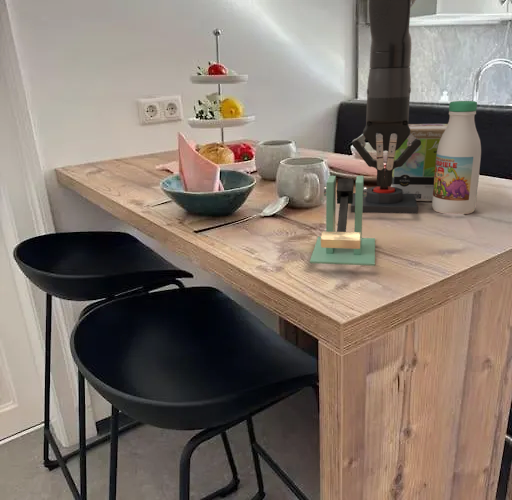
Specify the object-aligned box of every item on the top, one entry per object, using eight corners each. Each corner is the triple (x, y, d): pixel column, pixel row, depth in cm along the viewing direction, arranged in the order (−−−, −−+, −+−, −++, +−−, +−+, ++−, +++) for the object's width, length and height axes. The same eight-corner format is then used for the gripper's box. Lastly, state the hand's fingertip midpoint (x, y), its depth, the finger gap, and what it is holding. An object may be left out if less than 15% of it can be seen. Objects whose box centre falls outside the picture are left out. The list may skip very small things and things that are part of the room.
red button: (394, 195, 98) (394, 186, 97) (394, 200, 94) (395, 191, 94) (373, 194, 99) (373, 186, 98) (373, 199, 95) (373, 191, 95)
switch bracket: (374, 271, 69) (378, 188, 65) (309, 268, 71) (309, 187, 67) (374, 245, 79) (377, 171, 75) (317, 243, 81) (317, 171, 77)
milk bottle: (447, 202, 101) (456, 99, 94) (483, 210, 95) (496, 100, 88) (423, 210, 96) (431, 102, 90) (459, 218, 90) (471, 103, 84)
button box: (413, 204, 101) (414, 184, 99) (417, 218, 92) (418, 197, 90) (352, 203, 103) (353, 184, 102) (350, 216, 94) (351, 196, 93)
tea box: (391, 203, 102) (395, 129, 97) (388, 191, 111) (391, 123, 106) (469, 203, 100) (477, 127, 95) (459, 191, 109) (466, 121, 104)
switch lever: (359, 251, 65) (360, 238, 63) (321, 250, 66) (320, 236, 64) (363, 191, 73) (363, 178, 71) (328, 191, 74) (328, 178, 72)
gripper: (425, 92, 92) (418, 184, 98) (352, 94, 95) (349, 183, 101) (428, 94, 85) (421, 193, 91) (350, 96, 88) (347, 192, 94)
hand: (383, 188), depth 96 cm, fingers closed
